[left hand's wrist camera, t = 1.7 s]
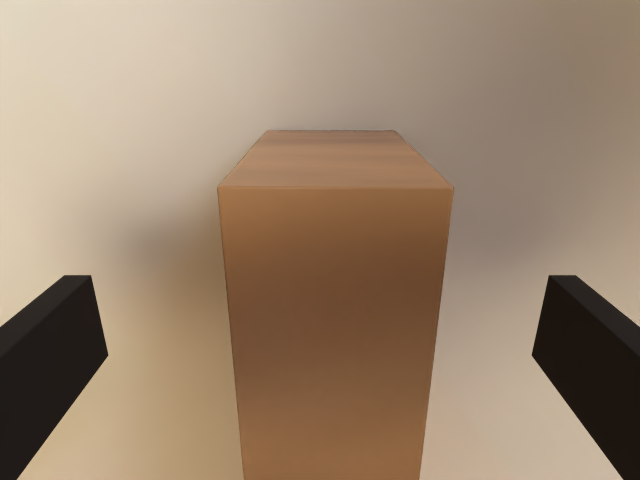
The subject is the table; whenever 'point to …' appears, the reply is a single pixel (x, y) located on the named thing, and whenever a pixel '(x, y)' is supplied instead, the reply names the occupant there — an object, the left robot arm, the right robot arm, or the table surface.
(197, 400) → the table surface
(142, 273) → the table surface
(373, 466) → the bar
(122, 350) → the table surface
